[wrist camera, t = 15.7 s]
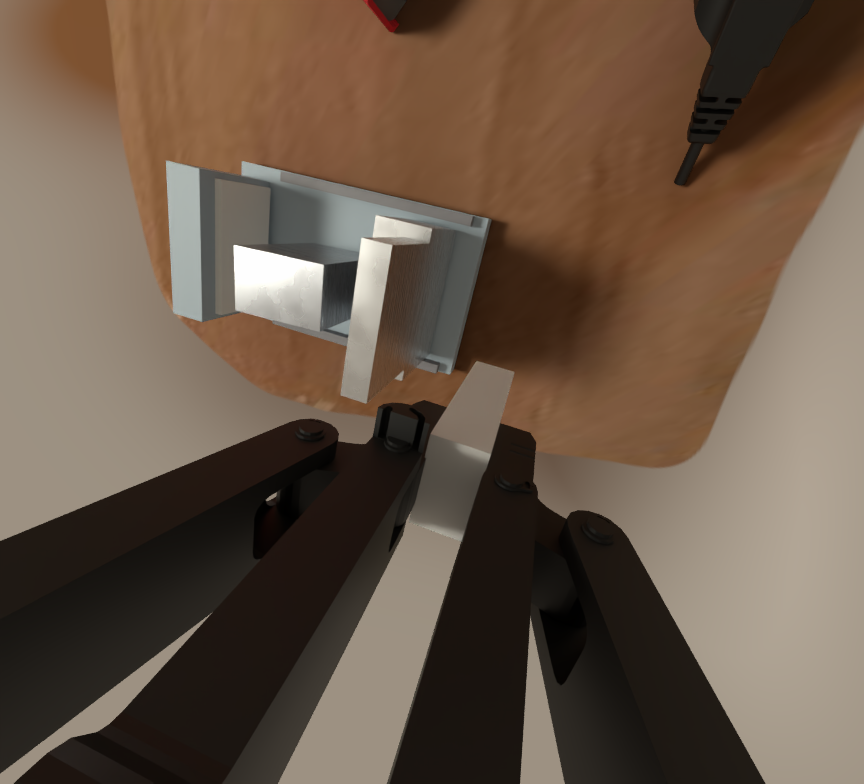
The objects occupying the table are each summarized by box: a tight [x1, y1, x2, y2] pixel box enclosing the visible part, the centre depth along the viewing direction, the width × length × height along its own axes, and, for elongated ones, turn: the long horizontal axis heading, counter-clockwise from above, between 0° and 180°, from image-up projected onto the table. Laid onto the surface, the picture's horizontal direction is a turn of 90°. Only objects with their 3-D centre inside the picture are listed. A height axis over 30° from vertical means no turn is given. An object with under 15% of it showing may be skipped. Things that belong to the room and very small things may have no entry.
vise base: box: [166, 161, 491, 375], centre depth 30 cm, size 12×20×8 cm, turn 77°
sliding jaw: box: [341, 215, 457, 404], centre depth 26 cm, size 10×4×12 cm, turn 167°
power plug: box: [674, 0, 814, 185], centre depth 22 cm, size 6×8×12 cm
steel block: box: [234, 243, 359, 332], centre depth 29 cm, size 4×6×9 cm, turn 80°
